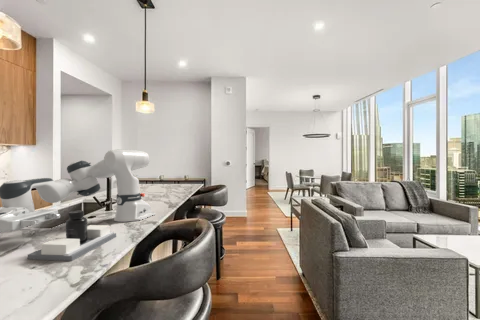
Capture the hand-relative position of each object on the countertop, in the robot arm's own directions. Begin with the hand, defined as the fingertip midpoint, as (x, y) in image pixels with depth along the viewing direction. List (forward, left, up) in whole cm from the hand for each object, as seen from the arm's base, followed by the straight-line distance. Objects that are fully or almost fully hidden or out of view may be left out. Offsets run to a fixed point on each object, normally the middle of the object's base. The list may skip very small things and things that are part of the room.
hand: (48, 219), depth 92 cm
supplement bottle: (-4, +11, -9) cm, 15 cm away
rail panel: (-4, +11, -10) cm, 16 cm away
